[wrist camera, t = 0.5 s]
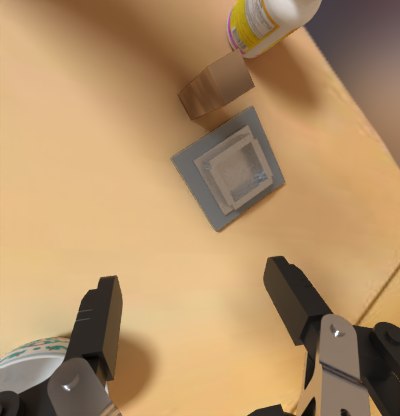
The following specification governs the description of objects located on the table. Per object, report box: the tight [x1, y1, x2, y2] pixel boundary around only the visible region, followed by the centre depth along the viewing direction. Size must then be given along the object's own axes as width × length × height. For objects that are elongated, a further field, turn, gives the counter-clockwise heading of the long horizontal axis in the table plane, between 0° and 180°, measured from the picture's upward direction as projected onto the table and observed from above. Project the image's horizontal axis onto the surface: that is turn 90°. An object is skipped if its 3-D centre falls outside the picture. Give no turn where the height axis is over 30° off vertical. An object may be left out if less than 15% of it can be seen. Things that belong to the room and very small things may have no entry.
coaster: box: [170, 106, 285, 232], centre depth 35 cm, size 13×14×1 cm
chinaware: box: [0, 337, 109, 395], centre depth 29 cm, size 15×15×8 cm
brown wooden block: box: [178, 48, 255, 120], centre depth 26 cm, size 4×4×11 cm
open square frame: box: [192, 125, 273, 215], centre depth 33 cm, size 10×10×3 cm
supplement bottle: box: [227, 0, 322, 58], centre depth 25 cm, size 7×7×13 cm
